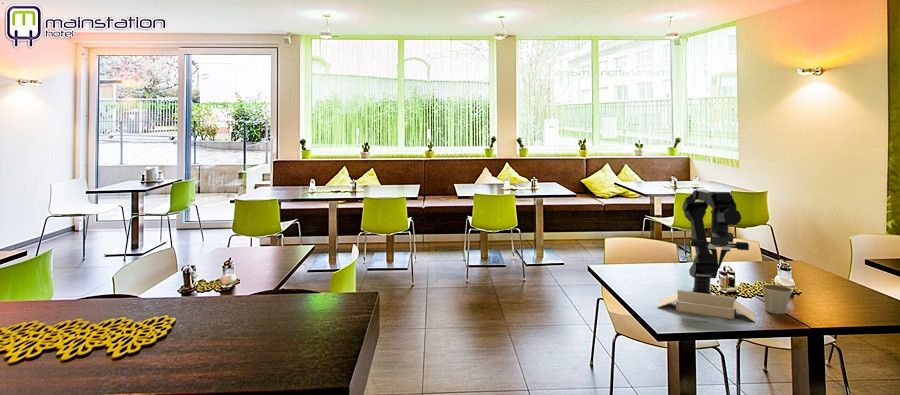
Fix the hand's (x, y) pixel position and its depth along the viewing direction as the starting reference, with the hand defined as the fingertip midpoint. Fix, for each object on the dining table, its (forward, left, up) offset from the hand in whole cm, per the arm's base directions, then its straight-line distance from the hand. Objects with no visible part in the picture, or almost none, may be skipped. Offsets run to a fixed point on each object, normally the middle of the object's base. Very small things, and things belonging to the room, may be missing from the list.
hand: (718, 268), depth 191 cm
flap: (+17, -3, -9) cm, 19 cm away
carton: (+8, -3, -13) cm, 16 cm away
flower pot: (-1, +19, -14) cm, 23 cm away
